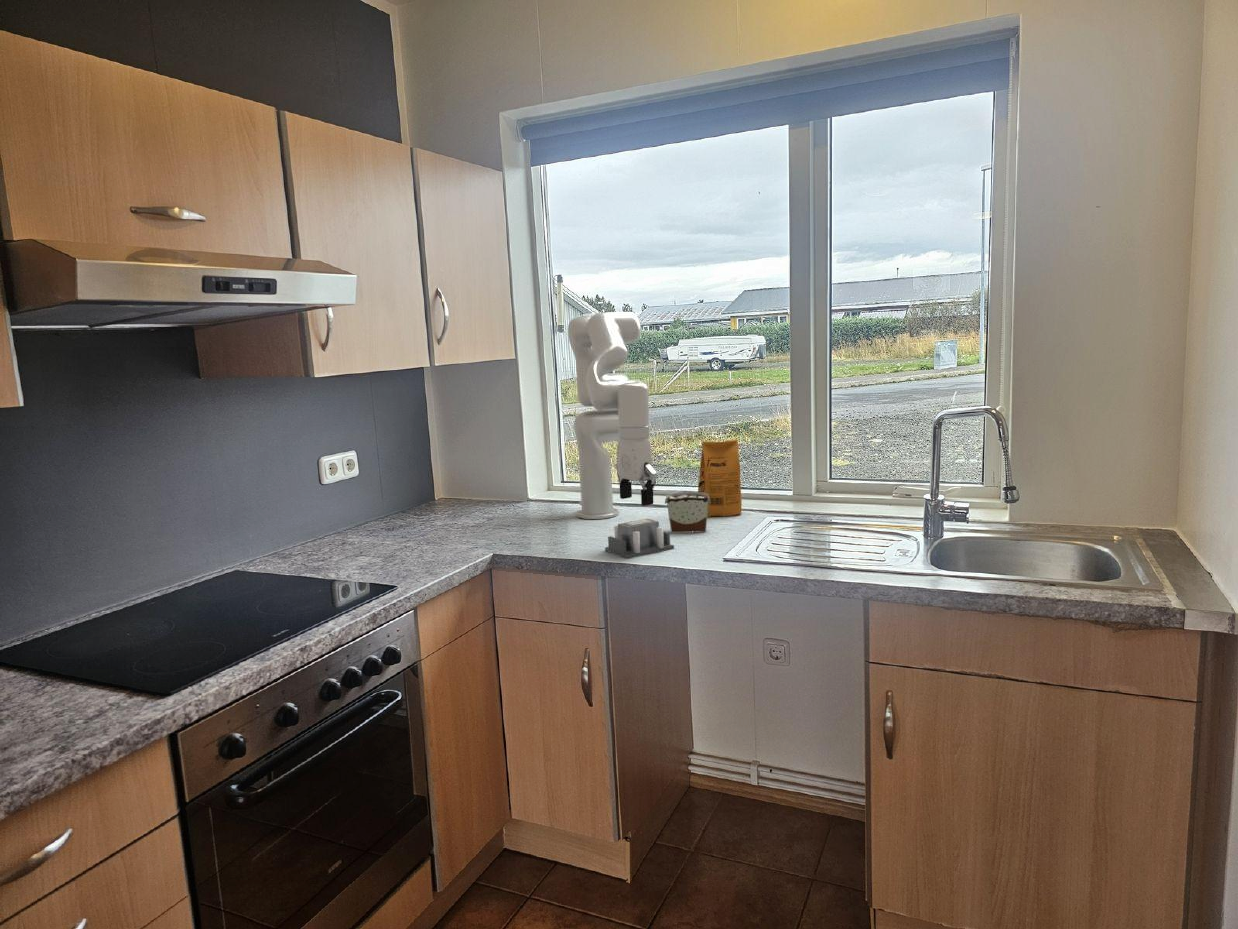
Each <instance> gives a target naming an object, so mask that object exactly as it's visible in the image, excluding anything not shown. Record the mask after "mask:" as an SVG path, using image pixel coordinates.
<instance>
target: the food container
mask: <svg viewBox="0 0 1238 929" xmlns="http://www.w3.org/2000/svg"><path fill="white" fill-rule="evenodd" d="M708 501H709V502H710V498H709V496H708V494H706V493H700V492H698V491H685V492H684V491H683V492H674V493H669V494H667V495H666V498H664V505H667V507H666V508H667V513H668V521H669V526H670V527H669V528H670V532H680V533H697V532H696V531H706V532H707V525H708V524H707V523H708V522H707V521H708V517H707V512H708ZM710 503H711V502H710ZM692 531H694V532H692Z"/></svg>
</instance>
